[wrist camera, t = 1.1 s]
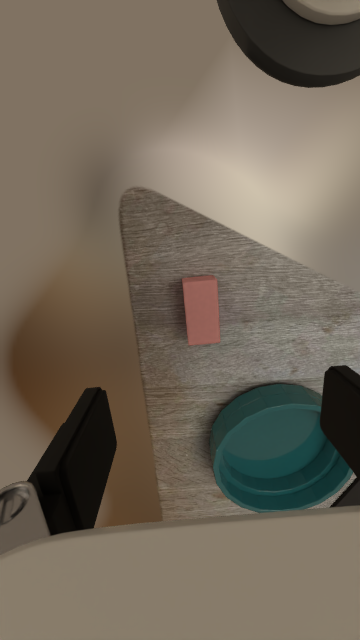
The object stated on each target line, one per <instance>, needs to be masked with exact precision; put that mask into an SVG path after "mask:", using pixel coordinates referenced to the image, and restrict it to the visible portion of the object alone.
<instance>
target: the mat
mask: <svg viewBox="0 0 360 640" xmlns="http://www.w3.org/2000/svg"><path fill="white" fill-rule="evenodd" d="M358 505H360V480H359V479H358V478H357V479H356V480H355V481H354V482H353V483H352V484H351V486H350V487H349V488H348V489H347V490H346V491H345V492H344V493H343V494H342V495H341V497H340V498H339V499H338V500H337V501H336V502H335V503H334V504H333V505H332V506H331V507H344V506H358ZM331 507H330V508H331Z"/></svg>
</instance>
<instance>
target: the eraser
mask: <svg viewBox="0 0 360 640" xmlns="http://www.w3.org/2000/svg"><path fill="white" fill-rule="evenodd" d="M182 284H183V294H184V304H185V315H186V325H187V335H188V345H189V346H190V345H200V344H211V343H220V325H219V305H218V286H217V279H216V278H215V277H214V276H213V275H209V276H199V277H189V278H182Z"/></svg>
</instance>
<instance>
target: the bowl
mask: <svg viewBox="0 0 360 640" xmlns="http://www.w3.org/2000/svg"><path fill="white" fill-rule="evenodd" d="M321 404H322V395H320V394H319V393H317V392H315V391H312V390H310V389H308V388H305V387H303V386H299V385H288V384H274V385H269V386H263V387H258V388H255V389H253V390H251V391H249V392H247V393H245V394H242V395H240V396H238V397H237V398H236V399H234V400H233V401H232V402H231V403H230V404H229V405H227V406H226V407H225V408H224V409H223V410H222V411H221V412H220V414H219V416H218V417H217V419H216V421H215V422H214V424H213V426H212V430H211V435H210V440H209V446H210V452H211V459H212V465H213V470H214V475H215V480H216V483H217V485H218V486H219V488H220V489H221V491H222V492H223V493H224V495H225V496H226V497H227V498H228V499H230V500H231V501H233V502H234V503H236V504H237V505H239V506H240V507H242V508H245V509H248V510H252V511H255V512H258V513H268V512H280V511H292V510H304V509H307V508H310V507H312V506H315V505H318V504H320V503H322V502H323V501H325V500H326V499H328V498H329V497H331V496H332V495H334V494H335V493H337V492H338V491H339V490H340V489H341V488H342V487H343V486H344V484H345V483H346V482H347V481H348V480H349V479H350V477H351V476H352V474H353V471H352V470H351V468H350V467H349V466H348V464H347V463H346V462H345V460H344V459H343V458H342V456H341V455H340V454H339V453H338V451H337V450H336V449H335V447H334V446H333V445H332V443H331V442H330V441H329V440H328V438H327V437H326V436H325V434H324V433H323V432H322V430H321V427H320V414H321Z"/></svg>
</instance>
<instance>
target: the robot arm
mask: <svg viewBox="0 0 360 640" xmlns="http://www.w3.org/2000/svg"><path fill="white" fill-rule="evenodd" d="M283 2H284V3H285V4H286V5H287V6H288V7H289V8H290V9H292V10H293V11H294V12H295V13H297V14H298V15H299V16H301V17H303V18H305V19H308V20H310V21H312V22H315V23H320V24H327V25H337V24H345V23H350V22H352V21H355V20H358V19H360V0H283ZM320 427H321V430H322V432H323V433H324V434H325V436H326V437H327V438H328V440H329V441H330V442H331V443H332V445H333V446H334V447H335V449H336V450H337V451H338V453H339V454H340V455H341V456H342V458H343V459H344V460H345V462H346V463H347V464H348V466H349V467H350V468H351V470H352V471H353V472H354V473H355V475H356V476H357V477H358V479H359V480H360V375H359V374H357V373H356V372H355V371H353V370H352V369H351V368H349V367H348V366H346V365H342V366H331V367H329V369H328V370H327V371H326V372H325V376H324V385H323V395H322V404H321V414H320ZM116 445H117V441H116V436H115V431H114V427H113V422H112V417H111V412H110V408H109V403H108V399H107V394H106V391H105V390H102V389H101V388H100V387H95V388H86V389H85V391H84V392H83V394H82V396H81V397H80V399H79V400H78V402H77V404H76V405H75V407H74V409H73V410H72V412H71V414H70V415H69V417H68V419H67V420H66V422H65V423H63V424H62V426H61V427H60V428H59V430H58V432H57V433H56V435H55V437H54V438H53V440H52V441H51V443H50V445H49V446H48V448H47V450H46V451H45V453H44V454H43V456H42V458H41V459H40V461H39V463H38V464H37V466H36V467H35V469H34V471H33V472H32V474H31V475H30V477H29V479H28V480H27V481H21V482H16V483H12V484H10V485H8V486H6V487H4V488H2V489H1V490H0V640H360V505H358V506H344V507H331V508H318V509H305V510H292V511H280V512H268V513H255V514H243V515H231V516H219V517H208V518H196V519H185V520H173V521H162V522H152V523H139V524H130V525H121V526H111V527H102V528H94V525H95V521H96V518H97V514H98V511H99V507H100V504H101V500H102V497H103V493H104V490H105V486H106V483H107V479H108V476H109V472H110V469H111V465H112V462H113V458H114V455H115V451H116Z"/></svg>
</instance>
